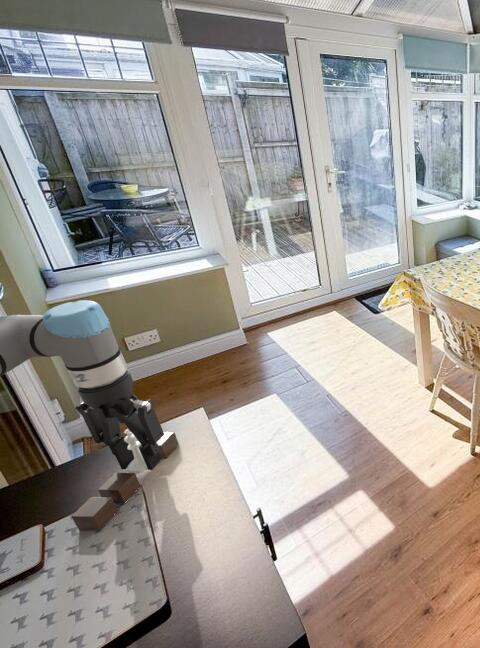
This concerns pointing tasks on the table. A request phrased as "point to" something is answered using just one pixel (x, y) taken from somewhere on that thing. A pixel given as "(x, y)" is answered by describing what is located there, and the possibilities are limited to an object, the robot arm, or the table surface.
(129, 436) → the chess piece
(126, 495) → the walnut block
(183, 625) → the table surface
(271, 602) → the table surface
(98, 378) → the robot arm
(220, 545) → the table surface
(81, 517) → the walnut block
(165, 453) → the walnut block
